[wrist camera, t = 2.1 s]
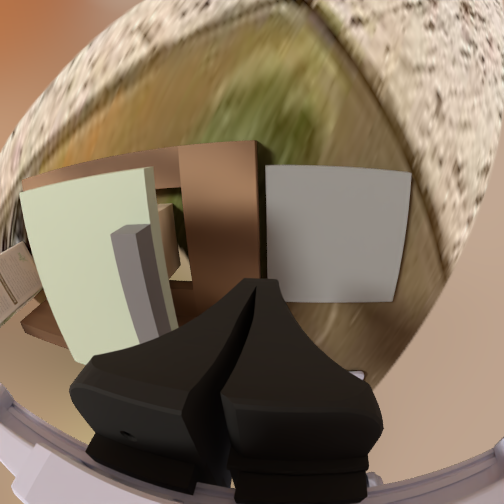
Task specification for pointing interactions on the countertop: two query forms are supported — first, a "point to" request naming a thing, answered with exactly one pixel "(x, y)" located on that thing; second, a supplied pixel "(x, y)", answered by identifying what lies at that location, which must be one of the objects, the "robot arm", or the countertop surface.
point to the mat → (335, 231)
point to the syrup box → (17, 280)
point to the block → (169, 237)
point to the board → (187, 220)
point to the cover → (101, 260)
